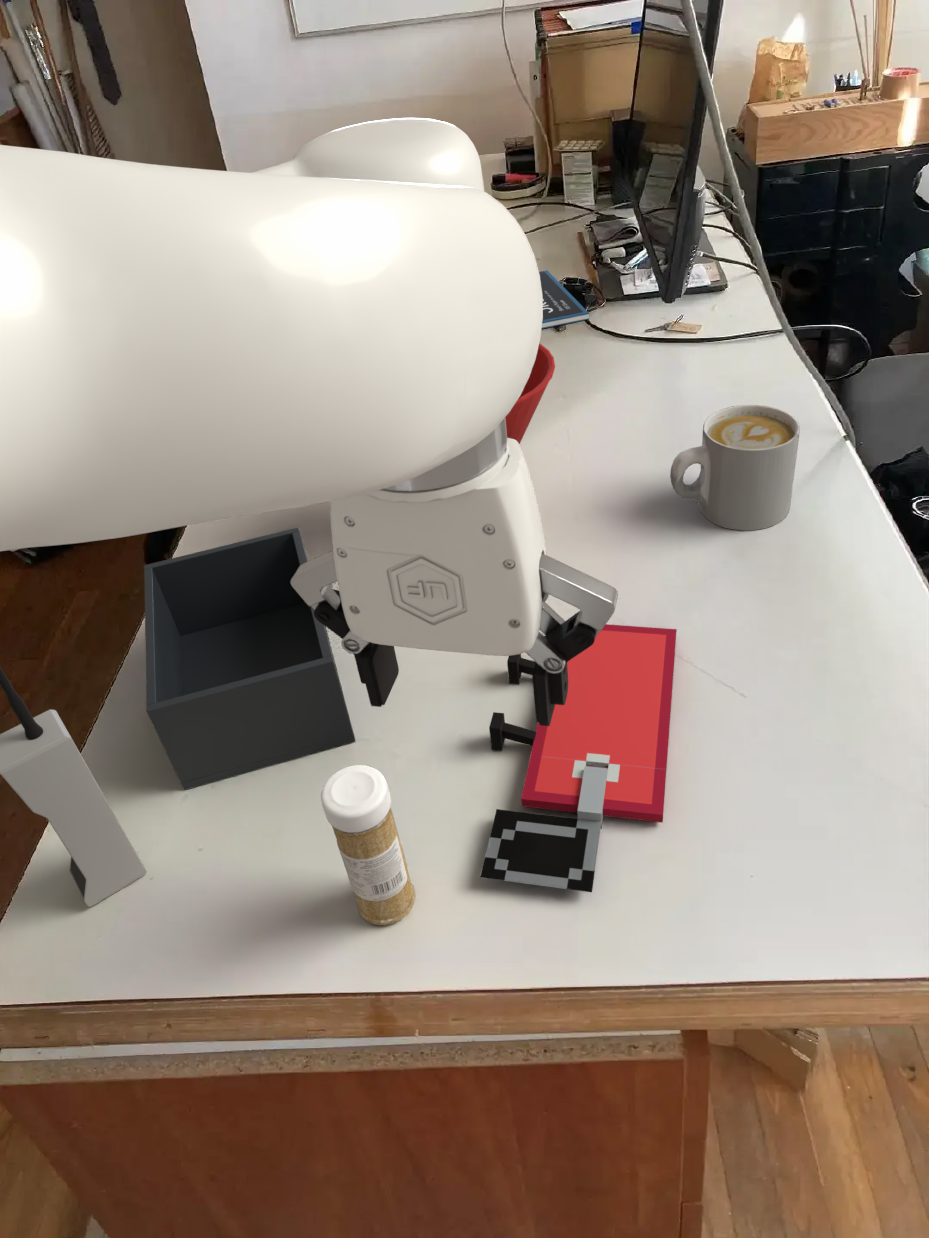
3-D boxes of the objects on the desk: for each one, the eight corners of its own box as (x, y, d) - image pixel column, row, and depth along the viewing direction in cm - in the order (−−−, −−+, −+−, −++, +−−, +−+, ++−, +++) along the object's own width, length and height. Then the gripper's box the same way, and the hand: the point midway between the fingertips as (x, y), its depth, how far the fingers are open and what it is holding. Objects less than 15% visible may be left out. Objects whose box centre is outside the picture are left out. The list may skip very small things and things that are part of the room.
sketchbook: (589, 321, 149) (589, 308, 148) (408, 359, 146) (406, 347, 144) (547, 276, 166) (547, 265, 164) (383, 310, 162) (381, 298, 161)
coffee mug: (781, 479, 108) (790, 401, 102) (797, 528, 101) (808, 447, 94) (664, 485, 110) (666, 409, 104) (672, 534, 103) (674, 455, 96)
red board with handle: (457, 881, 71) (656, 908, 68) (453, 859, 69) (657, 885, 66) (523, 629, 93) (675, 640, 90) (521, 607, 92) (677, 618, 88)
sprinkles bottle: (410, 869, 73) (381, 755, 64) (420, 919, 69) (391, 805, 61) (353, 884, 72) (316, 771, 64) (360, 935, 69) (323, 822, 60)
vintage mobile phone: (74, 879, 76) (-73, 654, 60) (132, 846, 78) (4, 618, 62) (89, 910, 73) (-60, 683, 57) (148, 874, 75) (19, 646, 59)
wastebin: (355, 741, 84) (333, 661, 78) (183, 790, 82) (146, 711, 75) (319, 602, 100) (298, 526, 94) (175, 640, 98) (143, 565, 92)
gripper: (216, 467, 42) (301, 729, 52) (602, 484, 37) (607, 767, 48) (282, 389, 47) (347, 641, 58) (626, 395, 42) (626, 668, 53)
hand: (465, 698), depth 53 cm, fingers open, 9 cm apart
